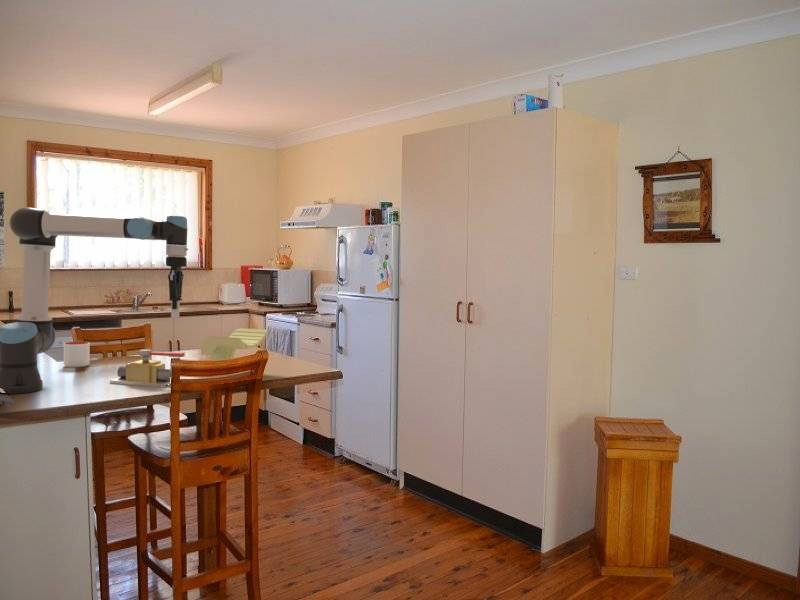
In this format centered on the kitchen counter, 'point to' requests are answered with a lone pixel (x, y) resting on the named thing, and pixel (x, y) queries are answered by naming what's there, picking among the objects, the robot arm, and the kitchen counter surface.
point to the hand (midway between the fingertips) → (175, 317)
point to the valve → (143, 373)
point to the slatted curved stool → (232, 343)
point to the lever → (161, 353)
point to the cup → (76, 354)
